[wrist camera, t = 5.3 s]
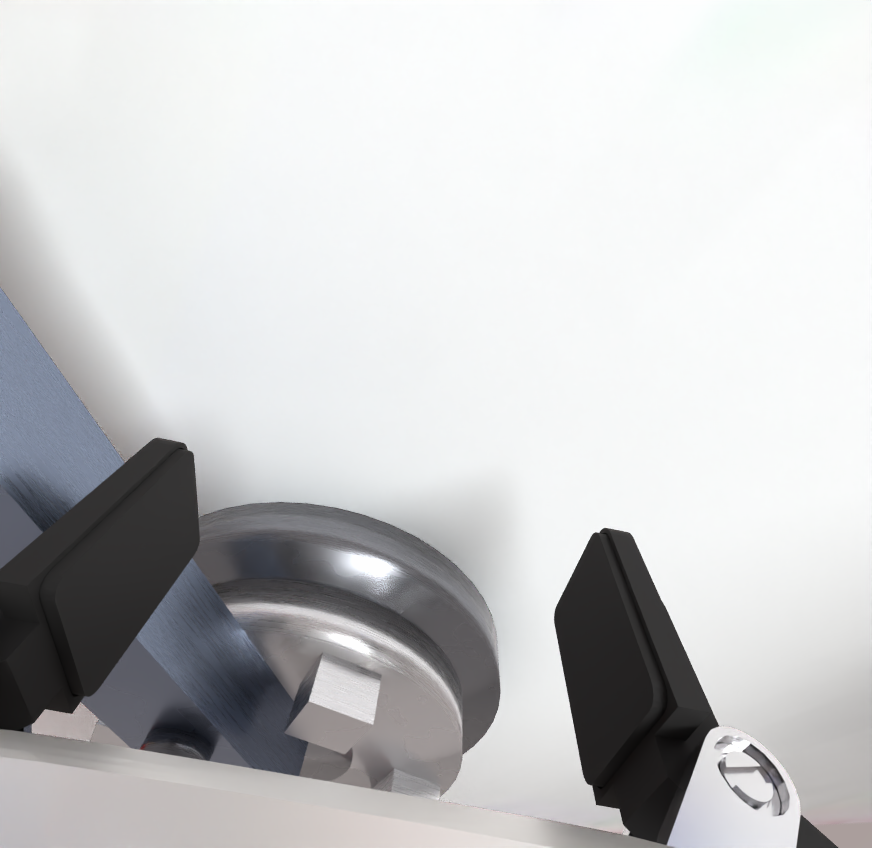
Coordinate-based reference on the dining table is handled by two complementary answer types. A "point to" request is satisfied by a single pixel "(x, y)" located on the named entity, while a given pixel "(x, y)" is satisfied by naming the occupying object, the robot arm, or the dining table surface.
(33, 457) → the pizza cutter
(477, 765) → the dining table surface
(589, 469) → the dining table surface
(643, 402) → the dining table surface
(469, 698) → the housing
